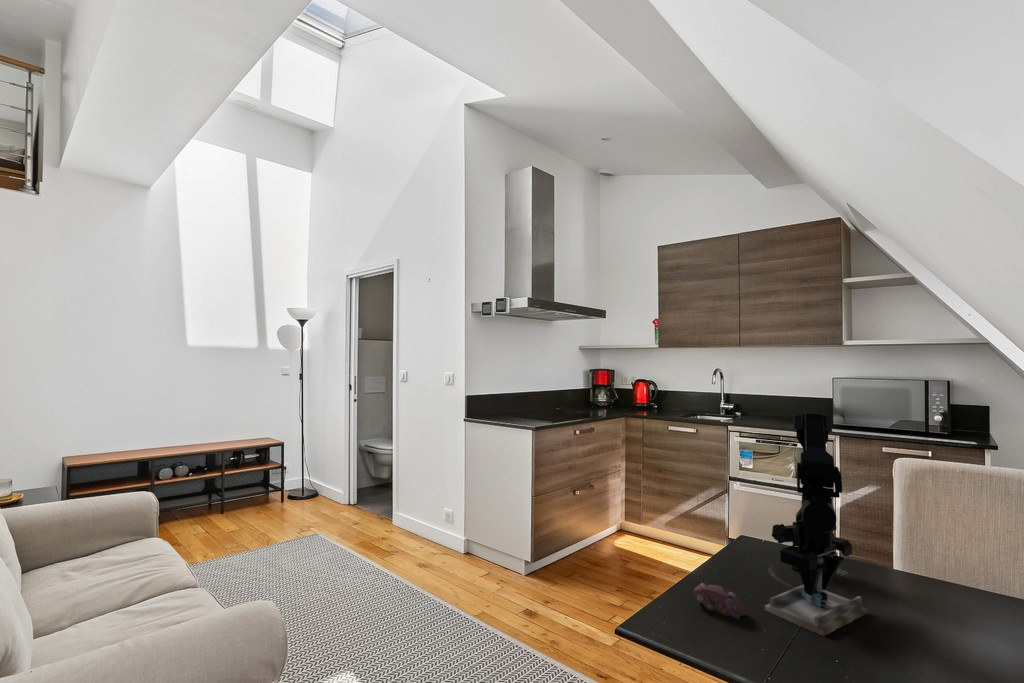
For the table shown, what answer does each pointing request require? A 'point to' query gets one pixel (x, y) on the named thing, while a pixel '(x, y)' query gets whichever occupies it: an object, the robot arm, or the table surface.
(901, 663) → the table surface
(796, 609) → the rail board
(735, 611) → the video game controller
